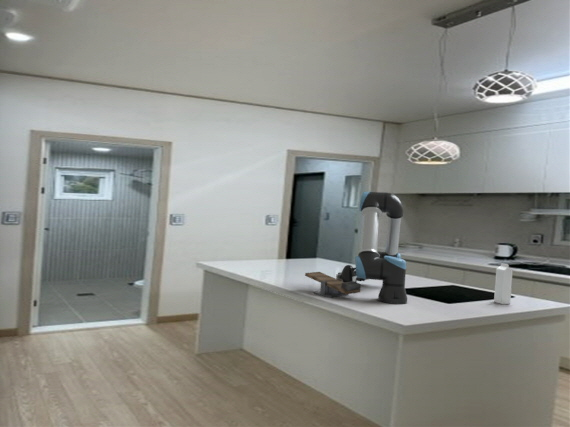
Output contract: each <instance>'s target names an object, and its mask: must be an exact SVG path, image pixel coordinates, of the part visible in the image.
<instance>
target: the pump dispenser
mask: <svg viewBox="0 0 570 427" xmlns="http://www.w3.org/2000/svg"><path fill="white" fill-rule="evenodd" d="M355 270H356V266H355V267H353V265H351V264H346V265H345V266H344V267H343V269H342V270H341V272H342V273H341V272H340V273H341V275H340V279H343V282H351V281H352V277H354V276H356V274H355ZM355 282H357V283H358V281H355Z"/></svg>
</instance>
